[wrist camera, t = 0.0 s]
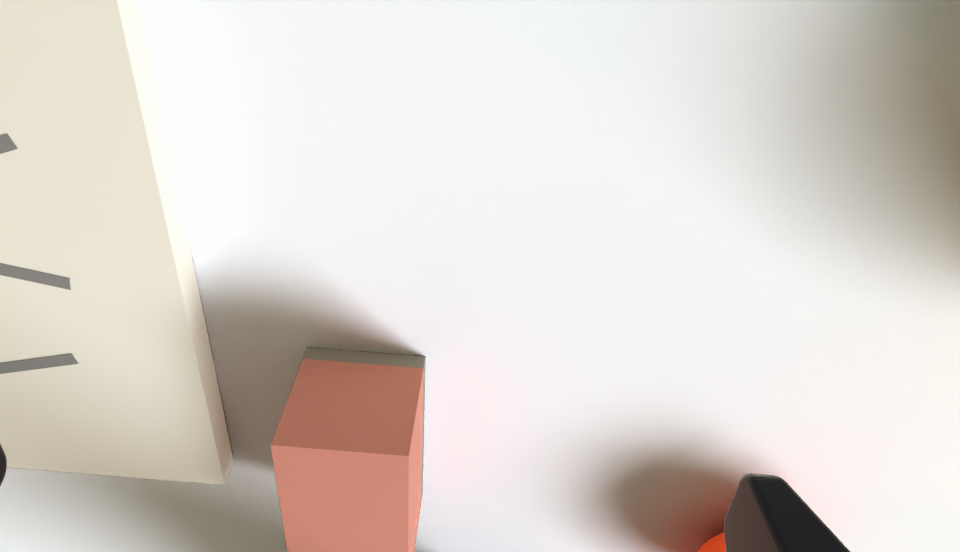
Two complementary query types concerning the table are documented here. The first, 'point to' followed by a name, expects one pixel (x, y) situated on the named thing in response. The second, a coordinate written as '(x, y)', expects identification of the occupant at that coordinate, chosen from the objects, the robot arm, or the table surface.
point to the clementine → (714, 544)
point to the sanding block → (352, 452)
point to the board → (97, 258)
